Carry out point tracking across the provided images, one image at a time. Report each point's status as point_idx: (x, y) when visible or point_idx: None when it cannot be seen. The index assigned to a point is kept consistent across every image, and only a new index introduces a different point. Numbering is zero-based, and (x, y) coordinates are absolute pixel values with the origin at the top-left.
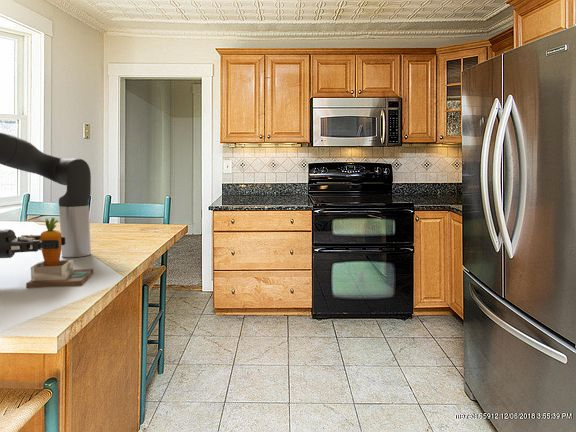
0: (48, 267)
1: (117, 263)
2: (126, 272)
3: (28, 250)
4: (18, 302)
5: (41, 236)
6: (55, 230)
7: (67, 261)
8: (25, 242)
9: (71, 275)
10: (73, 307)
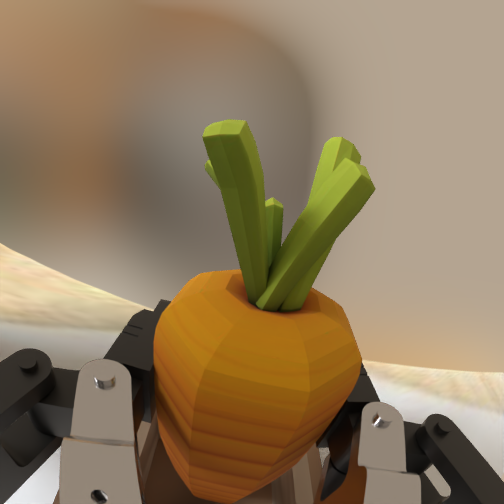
0: (308, 477)
1: (38, 306)
2: None
3: (435, 494)
4: None
5: (323, 405)
6: (234, 271)
7: (155, 412)
8: (488, 470)
9: None
10: (452, 386)
